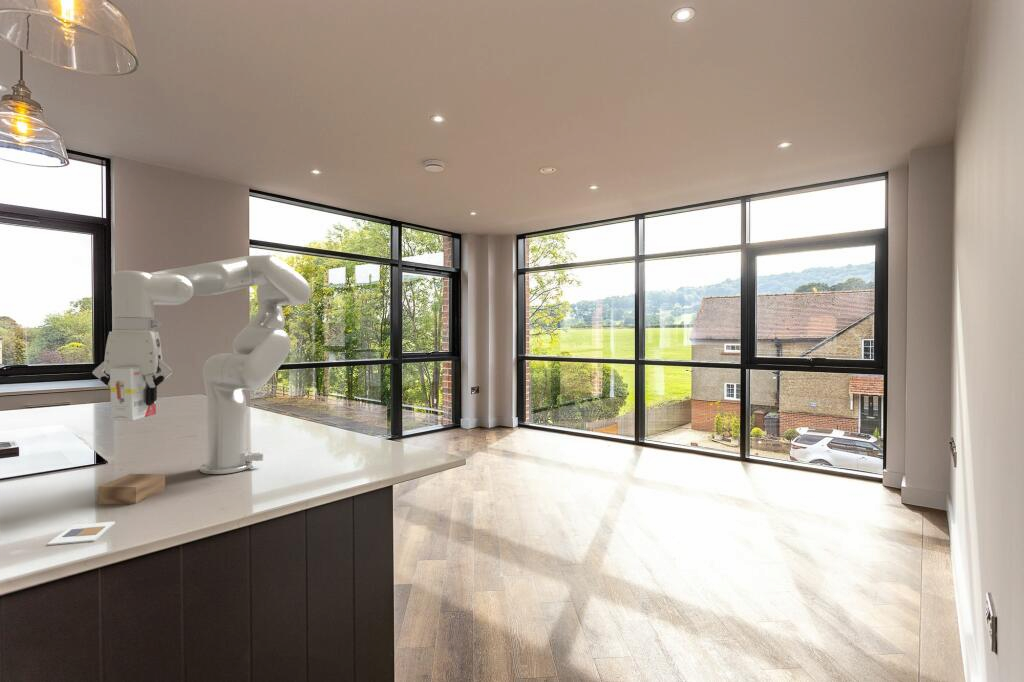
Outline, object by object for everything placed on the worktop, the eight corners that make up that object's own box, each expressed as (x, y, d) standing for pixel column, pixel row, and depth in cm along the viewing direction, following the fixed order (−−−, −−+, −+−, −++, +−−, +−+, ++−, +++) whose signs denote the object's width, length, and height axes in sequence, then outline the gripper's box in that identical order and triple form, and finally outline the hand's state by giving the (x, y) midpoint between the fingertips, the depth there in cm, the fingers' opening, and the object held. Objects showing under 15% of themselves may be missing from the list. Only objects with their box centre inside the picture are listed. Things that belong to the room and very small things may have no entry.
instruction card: (115, 522, 101) (115, 521, 101) (94, 541, 93) (94, 539, 93) (72, 526, 99) (72, 524, 99) (46, 545, 91) (46, 543, 91)
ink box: (135, 414, 121) (135, 364, 121) (157, 414, 121) (157, 364, 121) (108, 420, 112) (108, 367, 112) (131, 421, 113) (131, 367, 112)
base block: (165, 490, 122) (165, 474, 122) (135, 505, 112) (136, 487, 112) (130, 490, 122) (130, 473, 122) (98, 504, 112) (98, 486, 112)
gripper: (182, 326, 122) (182, 401, 123) (95, 324, 117) (96, 403, 118) (172, 326, 115) (172, 406, 116) (79, 325, 110) (79, 408, 111)
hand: (133, 404), depth 117 cm, fingers closed on ink box, 5 cm apart
